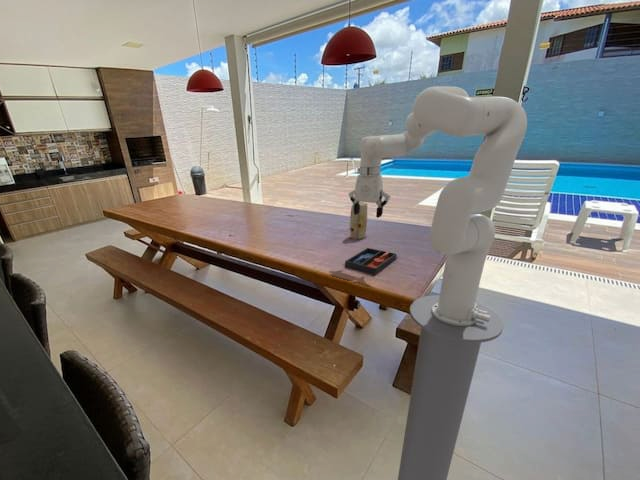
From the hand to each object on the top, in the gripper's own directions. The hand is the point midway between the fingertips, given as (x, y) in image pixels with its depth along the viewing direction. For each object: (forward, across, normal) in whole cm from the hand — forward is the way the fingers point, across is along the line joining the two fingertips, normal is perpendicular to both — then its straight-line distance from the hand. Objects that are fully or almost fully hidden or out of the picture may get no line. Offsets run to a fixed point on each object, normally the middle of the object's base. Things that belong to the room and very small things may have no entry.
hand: (367, 215), depth 123 cm
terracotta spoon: (+22, +4, +8) cm, 23 cm away
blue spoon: (+22, -2, 0) cm, 22 cm away
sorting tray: (+22, +1, +4) cm, 23 cm away
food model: (+22, -20, +30) cm, 42 cm away
